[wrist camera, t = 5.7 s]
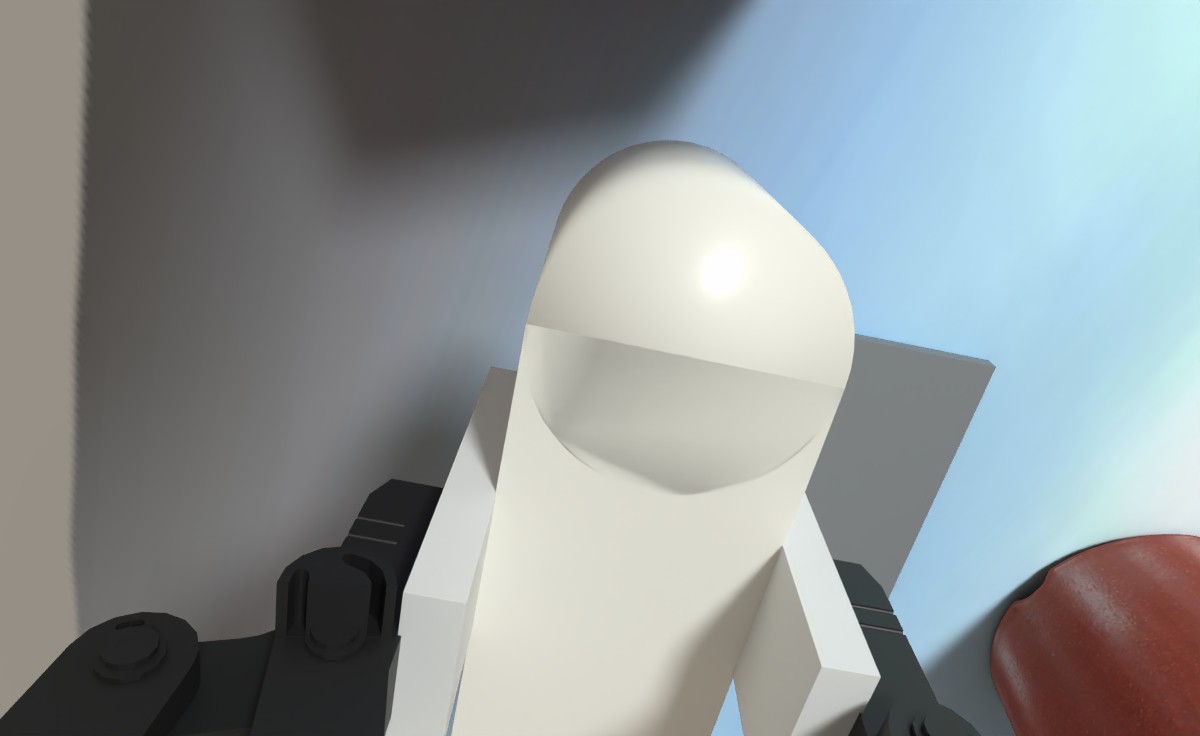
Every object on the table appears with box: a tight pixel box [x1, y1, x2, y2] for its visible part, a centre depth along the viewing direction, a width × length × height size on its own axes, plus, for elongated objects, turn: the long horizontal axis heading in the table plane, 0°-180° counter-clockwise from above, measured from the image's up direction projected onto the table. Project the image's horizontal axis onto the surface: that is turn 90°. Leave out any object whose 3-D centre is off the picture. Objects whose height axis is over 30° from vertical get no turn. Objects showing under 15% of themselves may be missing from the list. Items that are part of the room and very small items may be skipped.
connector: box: [451, 140, 855, 736], centre depth 14 cm, size 13×4×5 cm, turn 168°
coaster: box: [805, 334, 996, 598], centre depth 30 cm, size 12×12×1 cm
